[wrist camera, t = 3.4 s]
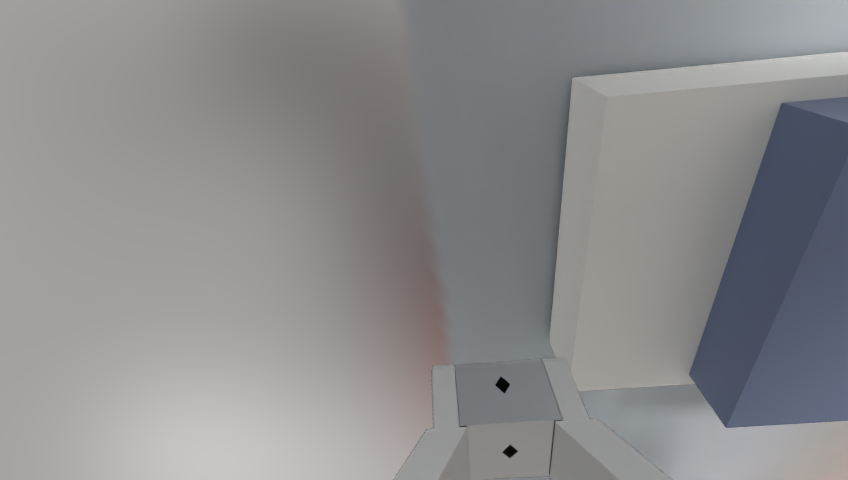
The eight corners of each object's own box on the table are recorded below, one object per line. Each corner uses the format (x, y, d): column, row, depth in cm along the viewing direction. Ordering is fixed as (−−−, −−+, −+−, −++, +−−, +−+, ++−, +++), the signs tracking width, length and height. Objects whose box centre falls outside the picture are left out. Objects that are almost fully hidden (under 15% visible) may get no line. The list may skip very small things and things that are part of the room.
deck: (572, 77, 12) (607, 96, 9) (1188, 19, 11) (1377, 24, 9) (549, 340, 17) (568, 392, 14) (967, 311, 16) (1053, 361, 14)
